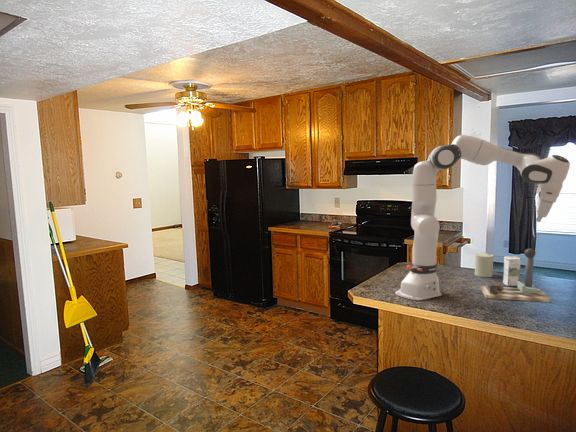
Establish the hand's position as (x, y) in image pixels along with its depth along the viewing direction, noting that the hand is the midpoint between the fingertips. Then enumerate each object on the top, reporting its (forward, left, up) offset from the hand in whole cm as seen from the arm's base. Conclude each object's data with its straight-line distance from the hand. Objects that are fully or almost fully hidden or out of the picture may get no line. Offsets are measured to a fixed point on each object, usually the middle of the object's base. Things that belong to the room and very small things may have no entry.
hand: (538, 216), depth 185 cm
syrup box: (+3, +12, -37) cm, 39 cm away
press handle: (-10, 0, -34) cm, 35 cm away
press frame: (-13, +4, -36) cm, 39 cm away
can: (+11, +30, -37) cm, 49 cm away
